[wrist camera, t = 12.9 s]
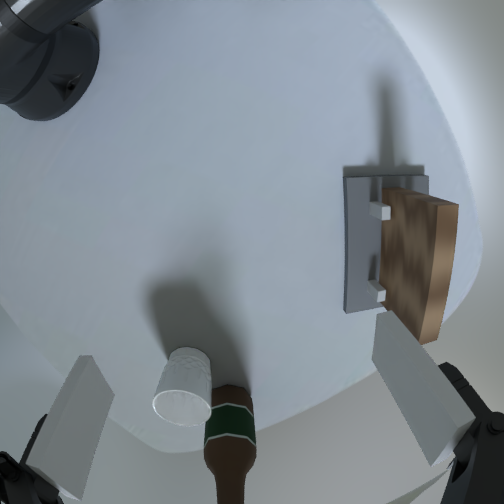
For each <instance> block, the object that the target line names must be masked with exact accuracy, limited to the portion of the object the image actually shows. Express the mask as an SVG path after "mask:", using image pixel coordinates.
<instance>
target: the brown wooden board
mask: <svg viewBox="0 0 504 504" xmlns="http://www.w3.org/2000/svg"><path fill="white" fill-rule="evenodd" d="M381 190H382V203H383V204H386V205H388V206H390V220H382V228H381V256H380V272H379V284H380V285H381V286H382V287H383V288H384V289H385V290H386V296H385V301H382V302H380V303H381V304H382V305H383V306H384V307H385V308H386V310H387V311H391V310H392V311H393V312H394V313H395V315H396V316H397V317H398V318H399V319H400V320H401V322H402V323H403V324H404V325H405V326H406V328H407V329H408V330H409V331H410V332H411V334H412V335H413V336H414V337H415V338H416V340H417V341H418V342H419V343H420V345H423V344H425V343H429V342H432V341H435V340H437V338H438V334H439V330H440V327H441V323H442V319H443V314H444V310H445V305H446V301H447V296H448V291H449V285H450V279H451V273H452V267H453V260H454V253H455V244H456V235H457V223H458V207H459V204H456V203H452V202H449V201H446V200H443V199H440V198H436V197H433V196H430V195H426V194H423V193H419V192H416V191H412V190H408V189H405V188H401V187H396V188H381Z"/></svg>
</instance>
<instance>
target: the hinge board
mask: <svg viewBox="0 0 504 504" xmlns="http://www.w3.org/2000/svg"><path fill="white" fill-rule="evenodd" d="M343 184H344V209H345V285H344V309H343V310H344V311H345V313H346V314H347V313H353V312H358V311H363V310H369V309H374V308H379V307H383V305H382V304H381V303H380V302H382V301H385V296H386V290H385V289H384V288H383V287H382V286H381V285H380V284H379V272H380V256H381V228H382V220H390V206H388V205H386V204H383V203H382V190H381V188H396V187H401V188H405V189H408V190H412V191H416V192H419V193H423V194H426V195H429V176H426V175H388V176H359V177H343Z"/></svg>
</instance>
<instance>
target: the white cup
mask: <svg viewBox="0 0 504 504" xmlns="http://www.w3.org/2000/svg"><path fill="white" fill-rule="evenodd" d="M211 396H212V382H211V364H210V360H209V358H208V357H207V356H206V354H205V353H203V352H202V351H200V350H198V349H196V348H191V347H183V348H178V349H176V350H175V351H173V352H172V353H171V354H170V357H169V359H168V362H167V364H166V366H165V368H164V371H163V373H162V375H161V378H160V381H159V384H158V387H157V390H156V393H155V395H154V398H153V402H152V404H153V408H154V410H155V412H156V413H157V414H158V415H159V416H160V417H161V418H163V419H164V420H166V421H168V422H170V423H173V424H176V425H180V426H196V425H200V424H203V423H204V422H206V421H207V420H208V419H209V418H210V416H211Z"/></svg>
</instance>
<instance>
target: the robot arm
mask: <svg viewBox="0 0 504 504" xmlns="http://www.w3.org/2000/svg"><path fill="white" fill-rule="evenodd" d="M101 1H103V0H0V104H5V105H7V106H8V107H10V108H11V109H12V110H14V111H15V112H17V113H18V114H19V115H20V116H22V117H23V118H25V119H28V120H34V121H48V120H52V119H55V118H57V117H59V116H61V115H62V114H64V113H65V112H67V111H68V110H69V109H70V108H71V107H73V106H74V105H75V104H76V103H77V101H78V100H79V99H80V98H81V97H82V95H83V94H84V93H85V91H86V90H87V88H88V86H89V84H90V83H91V81H92V78H93V76H94V74H95V71H96V68H97V64H98V58H99V46H98V42H97V39H96V37H95V35H94V34H93V32H92V31H91V30H89V29H88V28H87V27H85V26H84V25H83V24H81V23H78V22H75V21H72V20H74V19H75V18H76V17H78V16H79V15H81V14H82V13H84V12H85V11H87V10H88V9H90V8H91V7H93V6H94V5H96V4H98V3H99V2H101ZM372 361H373V363H374V364H375V366H376V368H377V369H378V371H379V373H380V375H381V376H382V378H383V379H384V382H385V383H386V385H387V387H388V389H389V390H390V392H391V394H392V396H393V397H394V399H395V401H396V403H397V405H398V406H399V408H400V410H401V412H402V414H403V415H404V417H405V419H406V421H407V423H408V425H409V427H410V428H411V430H412V432H413V434H414V436H415V437H416V439H417V442H418V443H419V445H420V447H421V449H422V451H423V453H424V455H425V457H426V459H427V461H428V463H429V465H430V467H432V466H434V465H436V464H438V463H439V462H442V461H443V460H445V459H447V458H448V457H449V456H450V454H451V453H452V452H454V454H455V455H456V457H455V458H454V459H453V460H452V462H451V463H450V464H449V466H448V468H447V469H450V468H451V467H452V470H451V473H450V476H449V480H448V483H447V486H446V489H445V492H444V495H443V498H442V501H441V503H440V504H504V414H503V413H500V412H492V411H491V410H490V409H489V408H488V407H487V406H486V404H485V403H484V402H483V400H482V399H481V398H480V396H479V395H478V394H477V392H476V391H475V390H474V389H473V387H472V386H471V385H469V382H468V381H467V380H466V379H465V378H464V376H463V375H462V374H461V373H460V371H459V370H458V369H457V368H456V367H454V366H453V365H451V364H449V363H448V362H445V363H443V364H440V365H438V366H437V365H436V363H435V362H434V361H433V359H432V358H431V357H430V356H429V354H428V353H427V352H426V351H425V350H424V348H423V347H422V346H421V345H420V343H419V342H418V341H417V340H416V338H415V337H414V336H413V335H412V334H411V332H410V331H409V330H408V329H407V328H406V326H405V325H404V324H403V323H402V322H401V320H400V319H399V318H398V317H397V316H396V315H395V313H394V312H393V311H392V310H391V311H387V312H383V313H380V314H377V318H376V329H375V338H374V346H373V354H372ZM114 395H115V394H114V393H113V391H112V390H111V388H110V386H109V385H108V383H107V381H106V380H105V378H104V376H103V375H102V373H101V371H100V370H99V368H98V366H97V364H96V363H95V361H94V359H93V357H92V355H90V356H79V358H78V359H77V361H76V363H75V364H74V366H73V368H72V370H71V372H70V373H69V375H68V377H67V379H66V381H65V383H64V384H63V386H62V388H61V390H60V392H59V394H58V396H57V397H56V399H55V401H54V403H53V405H52V407H51V409H50V412H49V413H48V414H45V415H44V416H43V417H42V418H41V419H40V420H39V422H38V424H37V426H36V428H35V432H33V434H32V436H31V437H32V438H31V439H30V440H29V443H28V445H27V447H26V449H25V451H24V454H23V456H22V458H21V460H20V463H17V462H16V461H15V460H14V459H13V458H12V457H11V456H10V455H9V454H8V453H7V452H4V451H1V452H0V504H1V501H2V502H4V503H5V504H64V503H63V501H62V499H61V498H60V496H58V493H59V491H60V492H61V493H63V494H64V495H65V496H67V497H69V498H72V499H75V500H79V501H81V500H82V497H83V493H84V489H85V485H86V482H87V478H88V475H89V471H90V468H91V464H92V461H93V458H94V454H95V451H96V448H97V445H98V442H99V439H100V435H101V432H102V430H103V427H104V424H105V420H106V418H107V415H108V412H109V409H110V406H111V404H112V401H113V398H114Z"/></svg>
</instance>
